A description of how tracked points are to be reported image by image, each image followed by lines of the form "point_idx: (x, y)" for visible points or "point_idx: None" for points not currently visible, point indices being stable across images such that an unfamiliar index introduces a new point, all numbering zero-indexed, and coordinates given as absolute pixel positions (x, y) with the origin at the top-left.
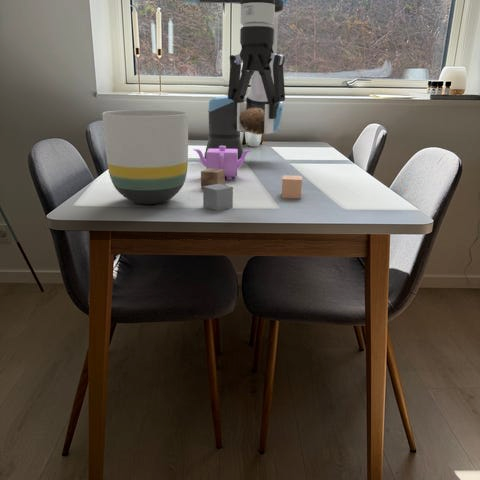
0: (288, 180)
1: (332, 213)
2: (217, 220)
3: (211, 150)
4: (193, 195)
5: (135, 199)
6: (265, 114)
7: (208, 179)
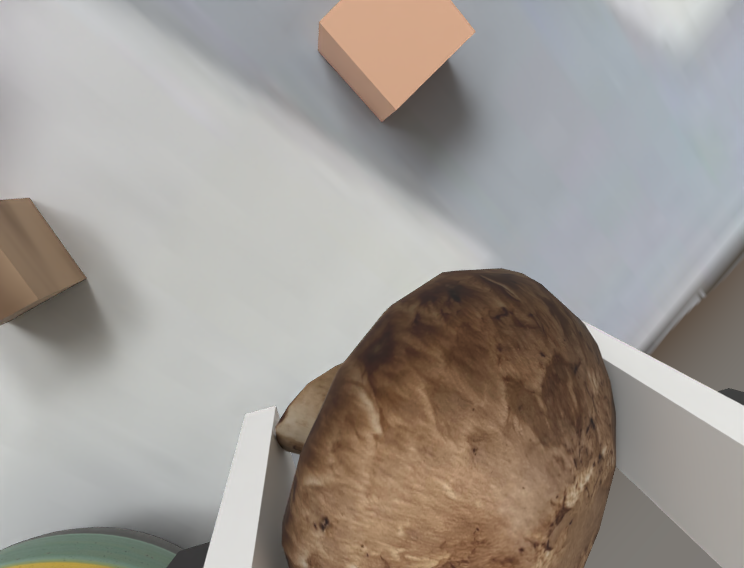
0: (418, 86)
1: (674, 144)
2: None
3: None
4: (119, 419)
5: None
6: (702, 535)
7: (14, 315)
